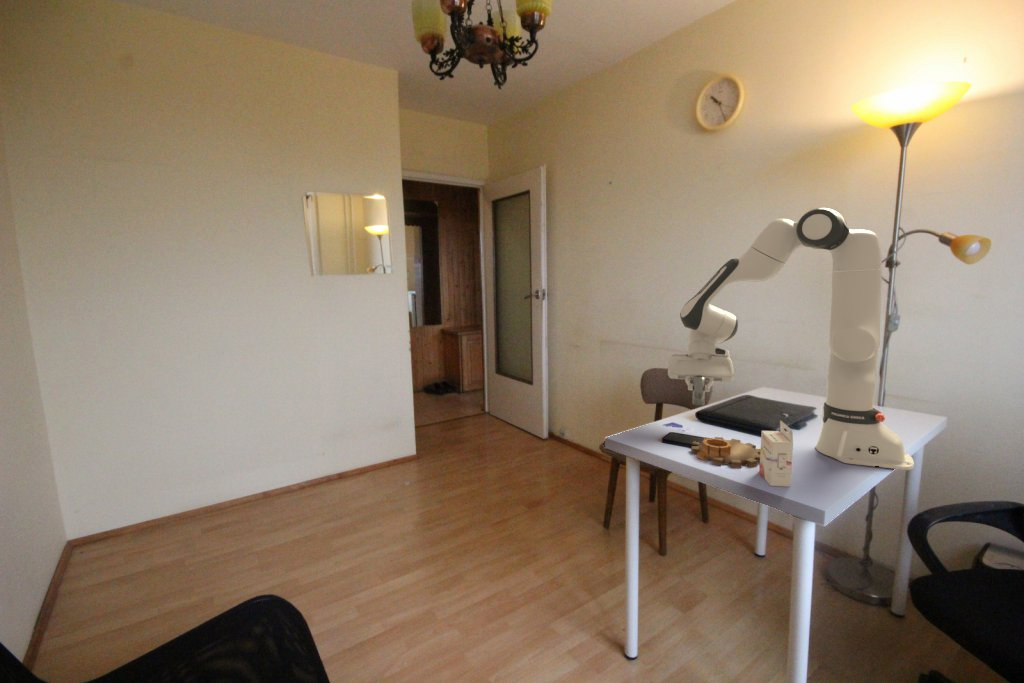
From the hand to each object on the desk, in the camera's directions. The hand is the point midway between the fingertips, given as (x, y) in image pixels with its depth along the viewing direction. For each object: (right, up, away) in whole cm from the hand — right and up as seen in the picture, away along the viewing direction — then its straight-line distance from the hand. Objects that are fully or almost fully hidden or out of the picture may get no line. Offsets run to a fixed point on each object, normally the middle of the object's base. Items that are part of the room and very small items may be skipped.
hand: (698, 390), depth 149 cm
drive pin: (0, -5, +1) cm, 5 cm away
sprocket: (+3, -17, -13) cm, 22 cm away
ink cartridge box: (+7, -20, -30) cm, 37 cm away
